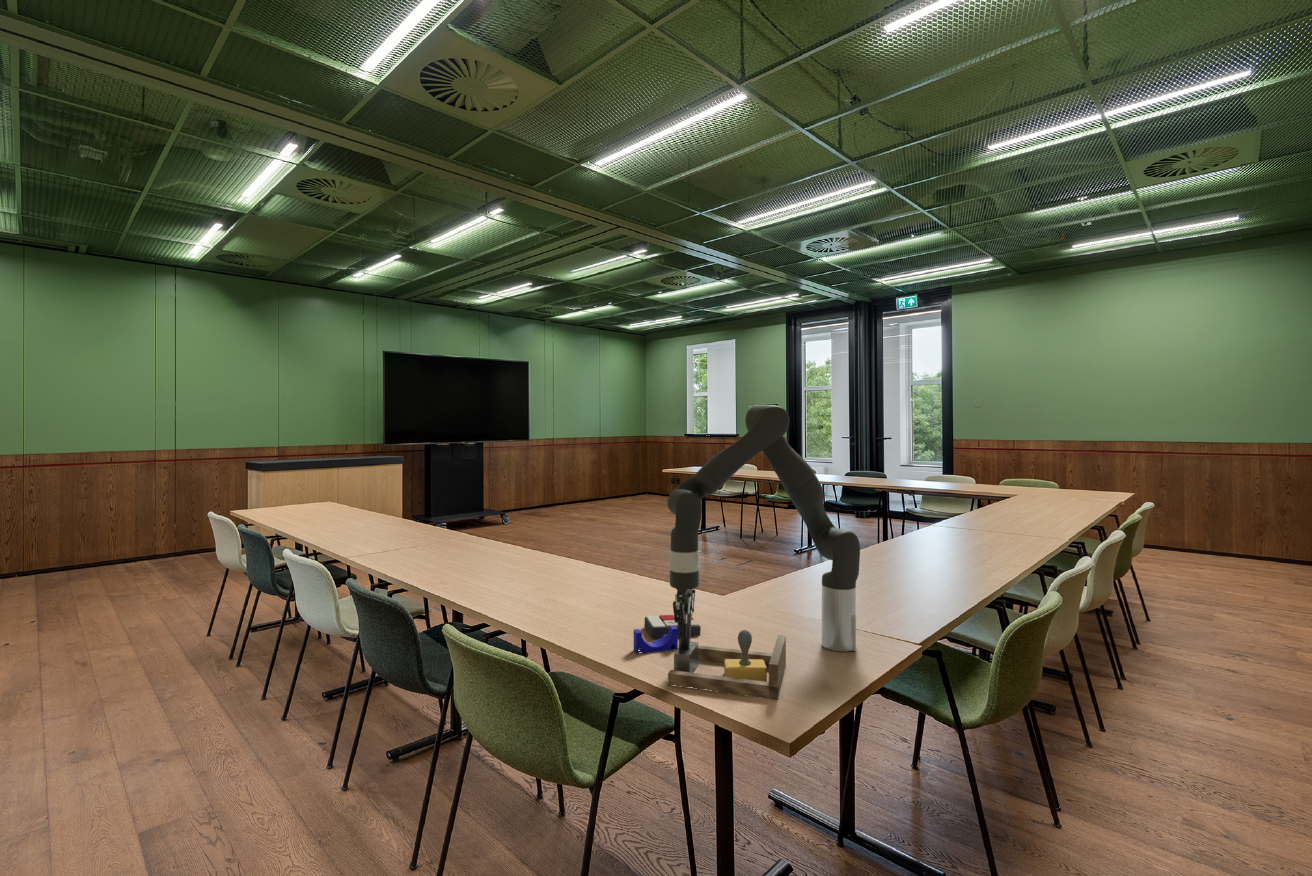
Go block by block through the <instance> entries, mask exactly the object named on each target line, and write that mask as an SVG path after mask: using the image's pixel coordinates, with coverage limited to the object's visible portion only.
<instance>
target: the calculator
mask: <svg viewBox="0 0 1312 876" xmlns="http://www.w3.org/2000/svg"><path fill="white" fill-rule="evenodd" d="M690 618H691V631H690V637H696V636H695V635H699V636H701V630H702V628H701V627H702V626H700V624H699V622H697V621H696V620H695V618H694V617H693V616H692V617H690ZM672 625H675V626H676V627H677V628H678V623H675V621H674V614H660V615H659V616H658V615H647V616H644V630H645V631H646V633H647V634H648V636H649V637H650V639H651V640H658V639H660V638H661V637H662V636H663V635H667V633H668V631H669V626H672Z"/></svg>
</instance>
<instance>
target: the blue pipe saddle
mask: <svg viewBox="0 0 1312 876" xmlns="http://www.w3.org/2000/svg"><path fill="white" fill-rule="evenodd" d="M678 648H679V637H678V628H677V627H676V626H675V625H672V626H669V631H668V633H667V635H663V636H662V637H661V638H660V639H655V640H653V641H652V642H648V641H646V640H644V638H643V633H642V631H641V630H640V629H639V628H636V629H635V628H634V629H633V651H634V652H636V653H635V654H636V655H640V654H639V652H642V654H648V653H649V652H650V653H658V652H667V651H673V650H674V649H675V650H677V649H678ZM638 650H640V651H638ZM666 650H667V651H666ZM675 650H674V651H675Z"/></svg>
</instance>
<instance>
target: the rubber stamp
mask: <svg viewBox="0 0 1312 876" xmlns="http://www.w3.org/2000/svg"><path fill="white" fill-rule="evenodd" d="M737 642H738V646H739V648H740V649H739V650H741V651H742V659H725V660H724V662H723V663H724V665H723V666H724V667H723V669H724V670H723V672H724V677H731V678H739V679H748V680H756V681H764V682H768V680H767V679H768V677H767V675H768V672H767V671H768V667H766V665H765V662H764V660H762V659H748V658H747V655H748V651H750V648H751V645H752V642H753V636H752V633H751V632H750V631H749V630H747V629H743V630H740V631H739V633H738V635H737Z"/></svg>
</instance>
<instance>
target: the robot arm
mask: <svg viewBox="0 0 1312 876" xmlns="http://www.w3.org/2000/svg"><path fill="white" fill-rule="evenodd" d="M790 421H791V419H790V416H789V413H788V411H787V410H786V409H785V408H783V407H781V406H779V405H774V404H759V405H755V406H752V407H751V408H749V409H748V410H747V413H746V415H745V420H744V422H745V428H746V429H747V432H746V433H745V434H744V435H743V436H742V437H741V438H740V439H739V438H738V440H736V441H735V442H734V443H732V444H731V445H729V446H727V447H726V448H724V449H722V450H721V451H719V452H718V453H716V454H715V455H714V456H712V457H711V458H710V459H709V460H708V461H707V462H705V464H703V466H702V467H701V468H699V470H698V471H696V473H695V474H693V475H692V476H690V477H689V478H687V479H686V480H684V481H683V482H681V483H680V484H679V485H677V487H675V488H674V489H673V490H672V492H670V494H669V496H668V497H667V501H666V504H667V508H668V510H669V511H670V512H671V513H672V514H673V515H675V521H674V527H673V528H672V529H671V530H670V531H671V532H670V553H669V555H670V556H669V586H670V587H671V588H673V589H675V590H676V594H675V595H674V601H673V602H672V608H673V615H674V621H675V623H678V639H679V638H686V637H687V615H688V614H689V612H690V617H692V618H693V613H694V612H695V601H696V600H695V599H696V598H695V597H696V589H697V588H699V586H700V555H699V530H700V526H701V520H702V514H703V506H702V505H703V504H702V499H704V498H705V497H706V496H711V495H713V494H715V493H716V492H717V491H718V490H719V489H721V487H723V486H724V484H725V483H727V482H728V481H729V480H730V478H732V477H733V476H734V475H735V474H736V473H737V472H738V471H739V470H740V469H741V468H743V466H744V465H746V464H747V463H748V462H750V461H751V460H752V459H753V458H755V457H756V456H757V455H758V454H760V453H761V452H763V454H764V455H765V457H766V459H767V460H768V463H769V464H770V466H771V468H772V469H773V471H774V473H775V474H776V476H777V478H778V479H779V482H780V483H781V485H782V487H783V488H784V490H785V492H786V494H787V495H788V498H789V499H790V500H791V503H792V504H793V505H794V507H795V509H796V511H797V512H798V514H799V515H800V517H801V519H802V520H803V522H804V524H805V526H806V528H807V531H808V533H809V535H810V537H811V540H812V541H813V545H814V546H815V547H816V550H817V552H818V553H819V554H820V555H821V556H822V557H824V558H825V559H827V560H830V561H831V562H832V563H831V569H830V571H828V572H827V571H826V572H824V573H823V574H822V576H821V646H822V647H823V648H825V649H828V650H831V651H836V652H856V651H857V632H856V631H857V611H856V610H857V606H856V605H857V602H856V599H857V595H856V592H857V591H856V590H857V580H858V578H859V573H860V561H861V560H860V559H861V545H860V540H859V537H858V536H857V534H856V533H855V532H853V531H850V530H847V529H843V528H842V529H841V528H839V527H836V526H835V525H834V524H833V522H832V521H831V519H830V518H829V516H828V514H827V512H826V509H825V503H824V502H825V500H824V499H825V497H824V496H825V495H824V489H823V486H822V484H821V482H820V481H819V478H818V476H817V475H816V473H815V472H814V470H813V467H811V466H810V464H809V463H808V462H807V461H806V459H804V458H803V457H802V456H801V455H800V454H799V453H797V452H796V450H795V449H794V448H793V447H792V446H791V445H790V444H789V443H788V442H787V440H786V438H785V434H786V433H787V432H788V429H789V427H790ZM680 616H682V618H680ZM690 631H691V618H690Z"/></svg>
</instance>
